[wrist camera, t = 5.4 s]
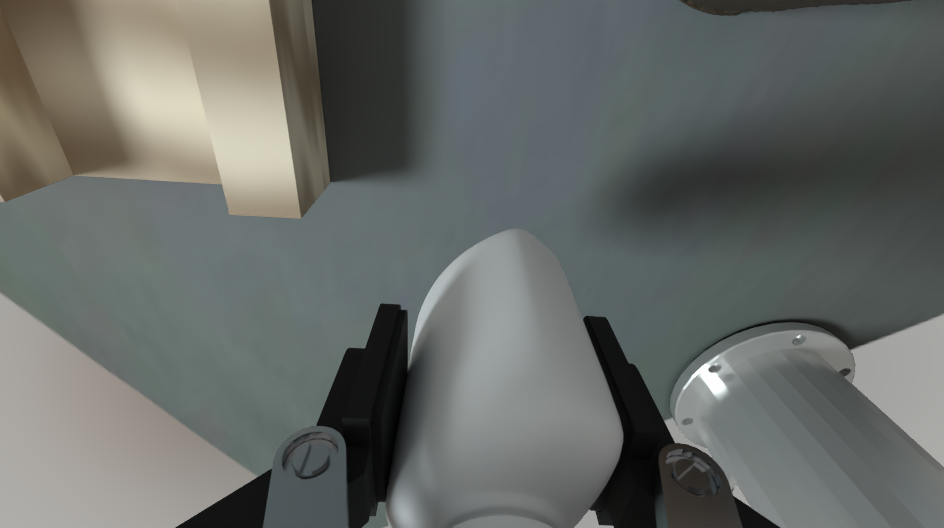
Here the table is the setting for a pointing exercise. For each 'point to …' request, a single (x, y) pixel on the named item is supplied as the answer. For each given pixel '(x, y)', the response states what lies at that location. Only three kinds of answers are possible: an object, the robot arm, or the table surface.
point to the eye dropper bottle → (502, 399)
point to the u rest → (165, 97)
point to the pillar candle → (767, 5)
